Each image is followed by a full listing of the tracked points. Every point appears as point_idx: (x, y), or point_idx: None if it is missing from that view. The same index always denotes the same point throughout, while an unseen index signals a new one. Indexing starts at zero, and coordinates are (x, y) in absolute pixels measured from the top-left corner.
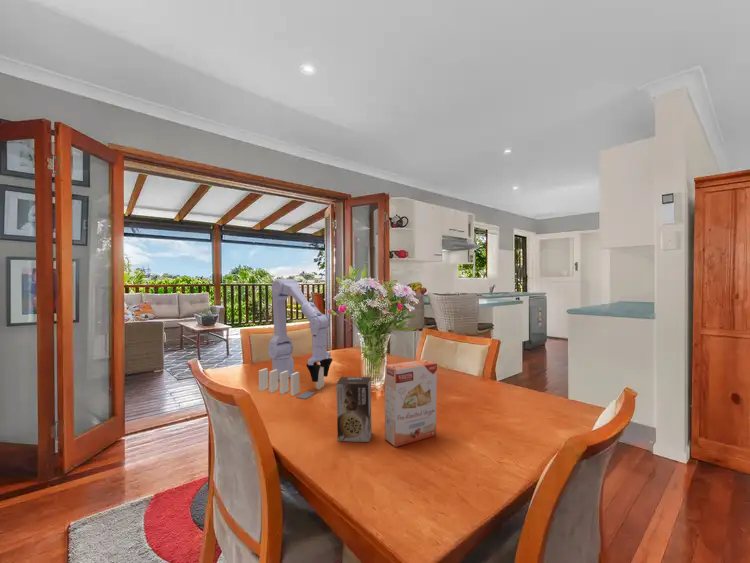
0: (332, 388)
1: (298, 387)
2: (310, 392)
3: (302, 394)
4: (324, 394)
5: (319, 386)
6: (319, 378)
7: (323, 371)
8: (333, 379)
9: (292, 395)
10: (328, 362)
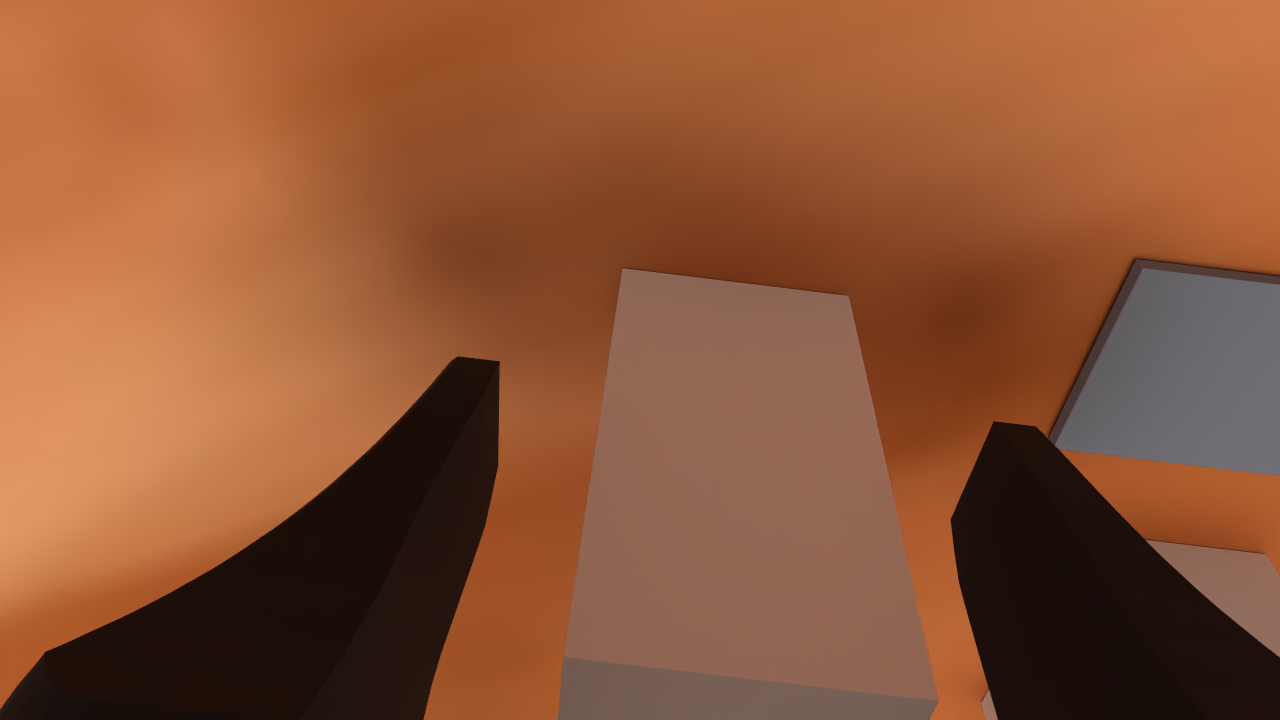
0: (717, 7)
1: None
2: (1138, 365)
3: (1260, 453)
4: (1235, 29)
5: (820, 322)
6: (838, 451)
7: (597, 531)
8: (68, 245)
9: (1259, 571)
10: (344, 697)
